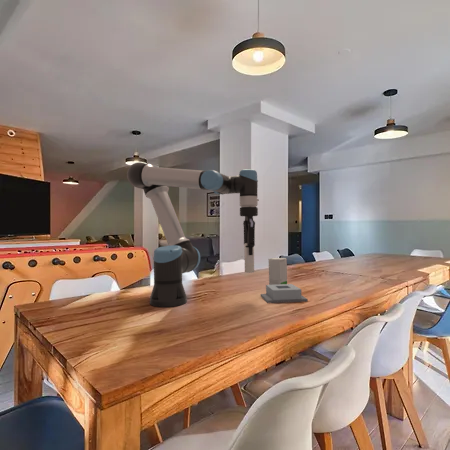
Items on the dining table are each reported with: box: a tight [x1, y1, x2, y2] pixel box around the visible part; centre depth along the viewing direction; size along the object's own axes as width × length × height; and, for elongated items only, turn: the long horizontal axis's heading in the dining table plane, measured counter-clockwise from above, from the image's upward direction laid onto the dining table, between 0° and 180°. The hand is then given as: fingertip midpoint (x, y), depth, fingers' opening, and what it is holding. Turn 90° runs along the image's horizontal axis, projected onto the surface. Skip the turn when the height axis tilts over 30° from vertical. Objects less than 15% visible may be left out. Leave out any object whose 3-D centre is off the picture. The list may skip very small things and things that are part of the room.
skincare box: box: [268, 257, 288, 285], centre depth 149 cm, size 8×7×16 cm
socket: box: [260, 283, 308, 304], centre depth 131 cm, size 17×12×5 cm
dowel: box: [243, 242, 255, 274], centre depth 128 cm, size 4×4×12 cm
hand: (249, 262), depth 128 cm, fingers closed on dowel, 4 cm apart
